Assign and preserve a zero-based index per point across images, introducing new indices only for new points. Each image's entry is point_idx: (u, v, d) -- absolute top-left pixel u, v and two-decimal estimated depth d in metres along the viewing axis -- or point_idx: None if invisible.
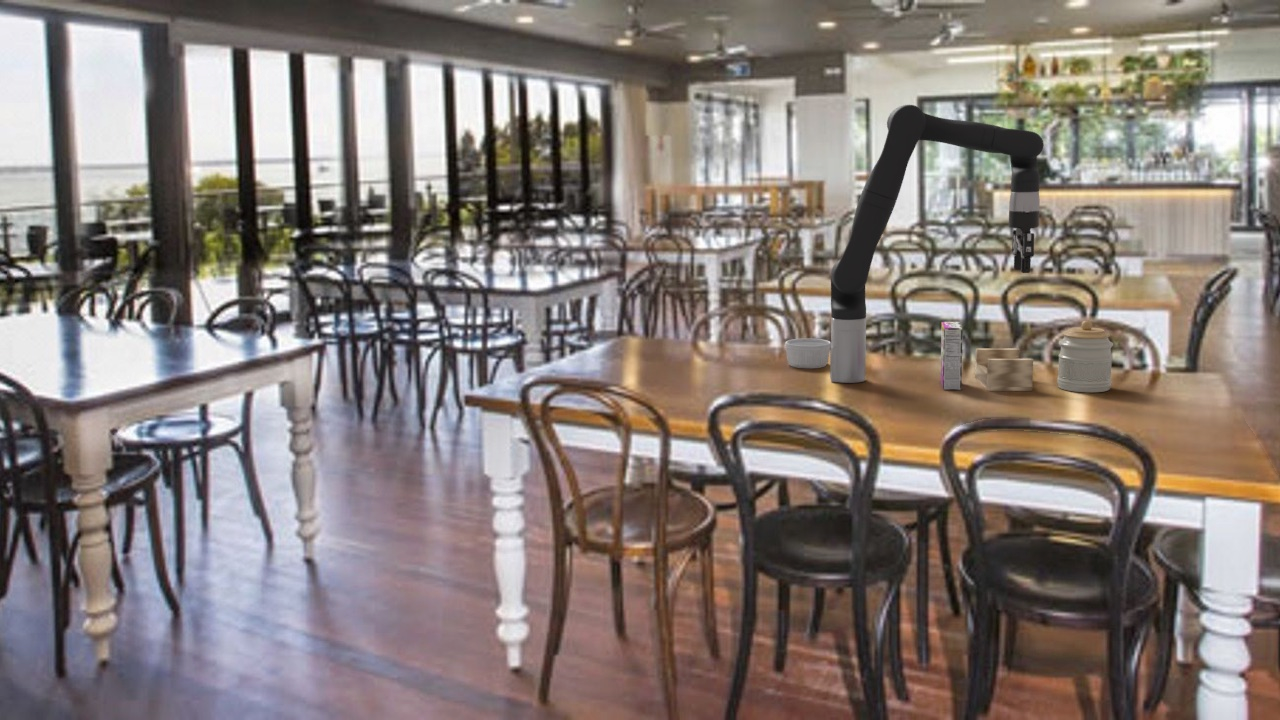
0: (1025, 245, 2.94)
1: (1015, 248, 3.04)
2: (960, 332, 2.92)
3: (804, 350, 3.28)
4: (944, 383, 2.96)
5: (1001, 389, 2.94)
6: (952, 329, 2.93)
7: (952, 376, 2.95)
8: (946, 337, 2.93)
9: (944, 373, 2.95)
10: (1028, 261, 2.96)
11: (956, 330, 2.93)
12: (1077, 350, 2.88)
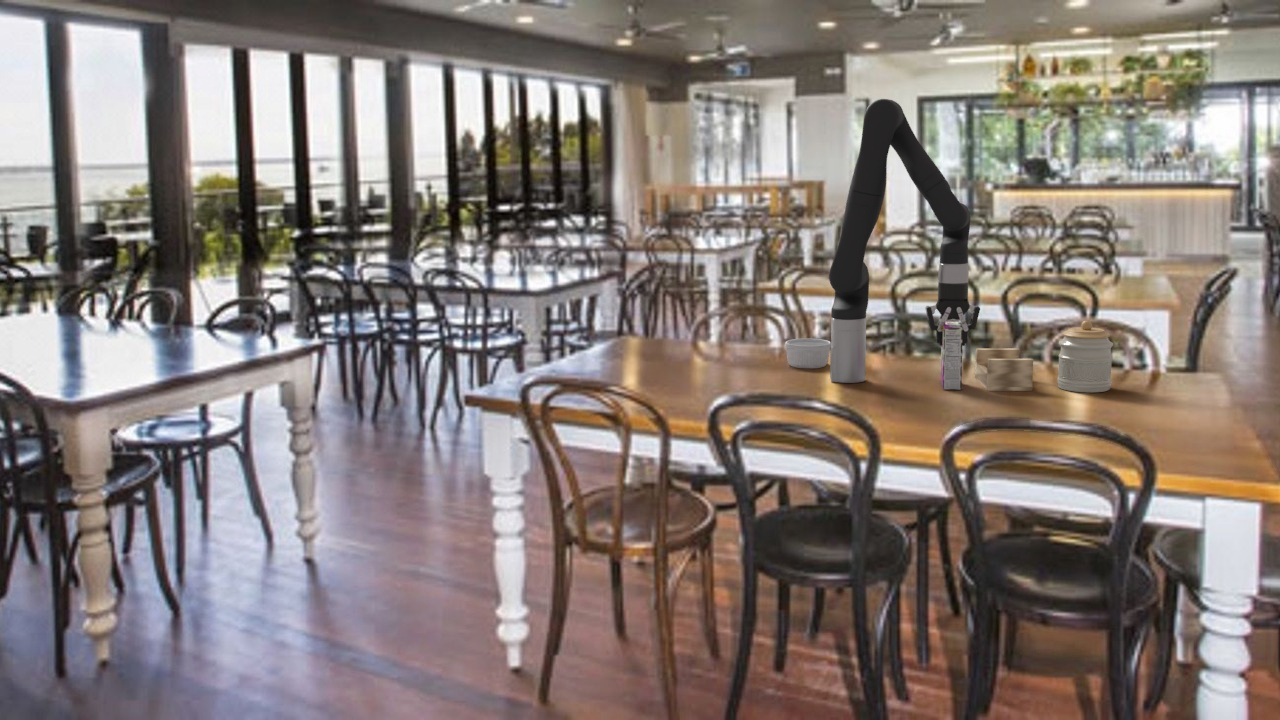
0: None
1: None
2: (960, 332, 2.92)
3: (804, 350, 3.28)
4: (944, 383, 2.96)
5: (1001, 389, 2.94)
6: (952, 329, 2.93)
7: (953, 376, 2.95)
8: (946, 337, 2.93)
9: (945, 373, 2.95)
10: None
11: (956, 330, 2.93)
12: (1077, 350, 2.88)
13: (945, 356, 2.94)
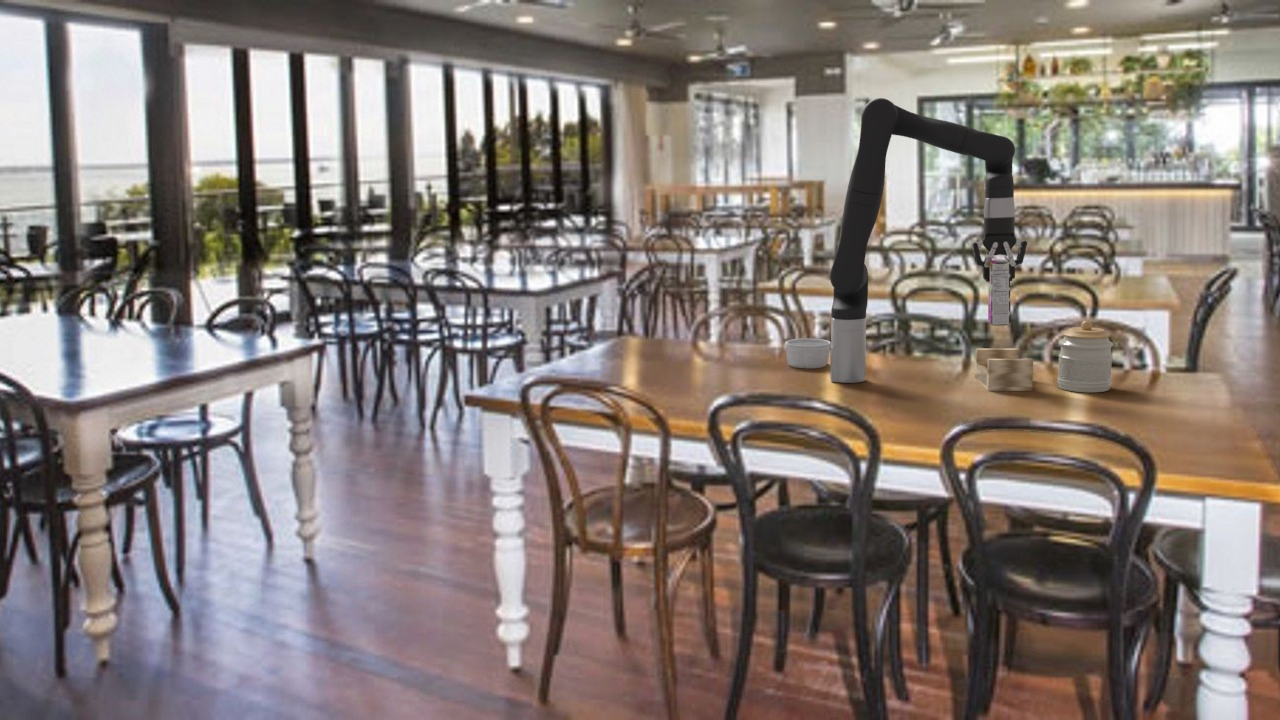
0: None
1: None
2: (1008, 266, 2.90)
3: (804, 350, 3.28)
4: (992, 318, 2.94)
5: (1001, 389, 2.94)
6: (1000, 263, 2.91)
7: (1001, 311, 2.93)
8: (994, 272, 2.91)
9: (993, 309, 2.93)
10: None
11: (1004, 264, 2.91)
12: (1077, 350, 2.88)
13: (993, 291, 2.92)
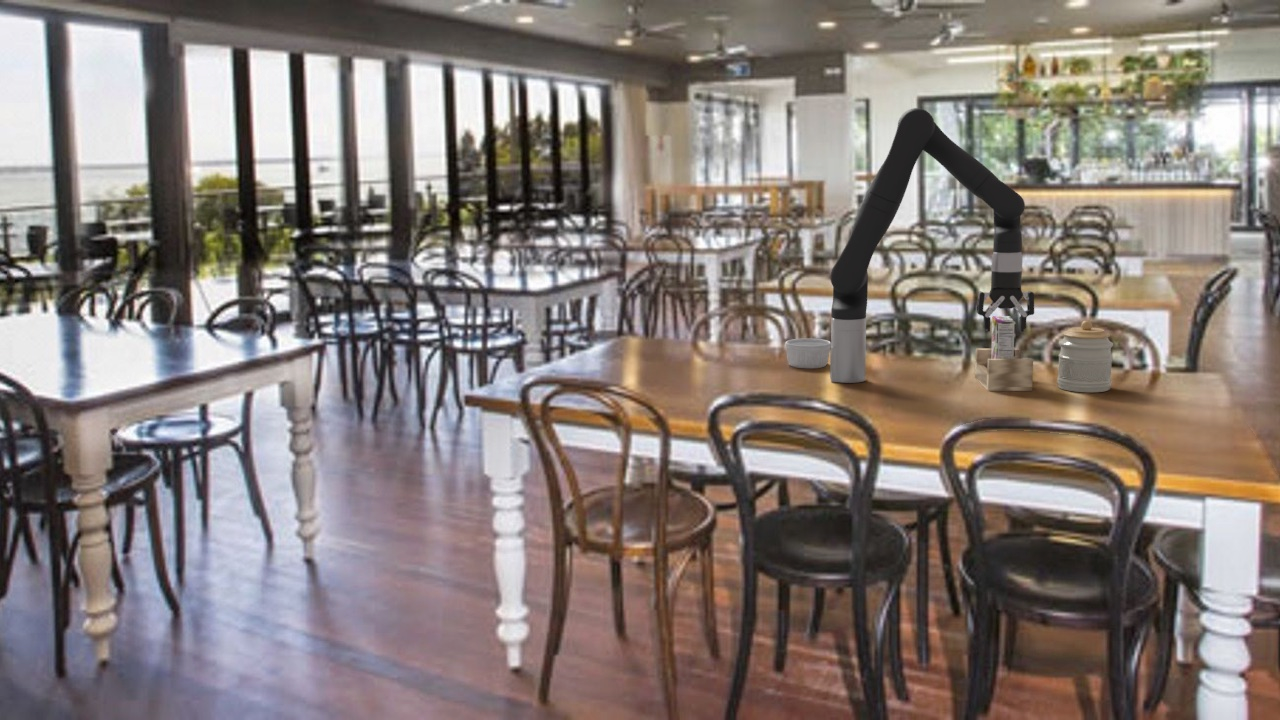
0: None
1: None
2: (1013, 326, 2.94)
3: (804, 350, 3.28)
4: None
5: (1001, 389, 2.94)
6: (1005, 323, 2.94)
7: None
8: (1000, 331, 2.95)
9: None
10: None
11: (1009, 324, 2.94)
12: (1077, 350, 2.88)
13: (998, 350, 2.96)
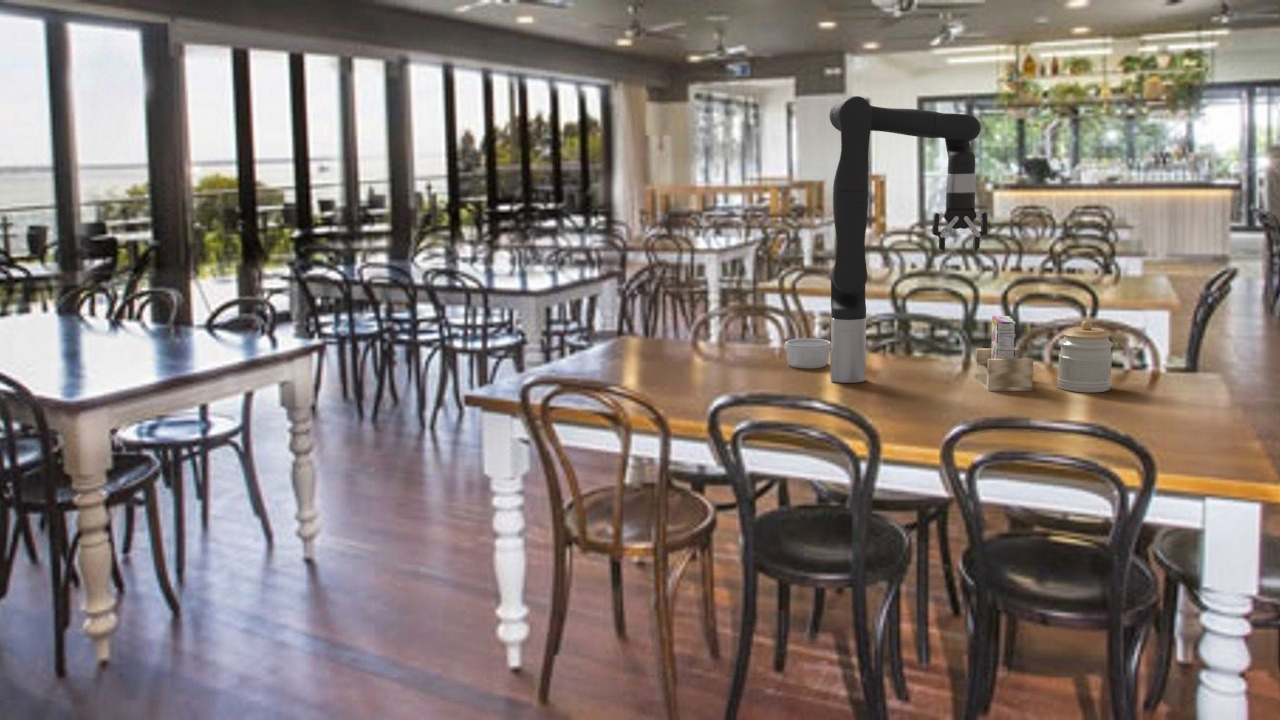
0: None
1: None
2: (1013, 326, 2.94)
3: (804, 350, 3.28)
4: None
5: (1001, 389, 2.94)
6: (1005, 323, 2.94)
7: None
8: (1000, 331, 2.95)
9: None
10: None
11: (1009, 324, 2.94)
12: (1077, 350, 2.88)
13: (998, 350, 2.96)
